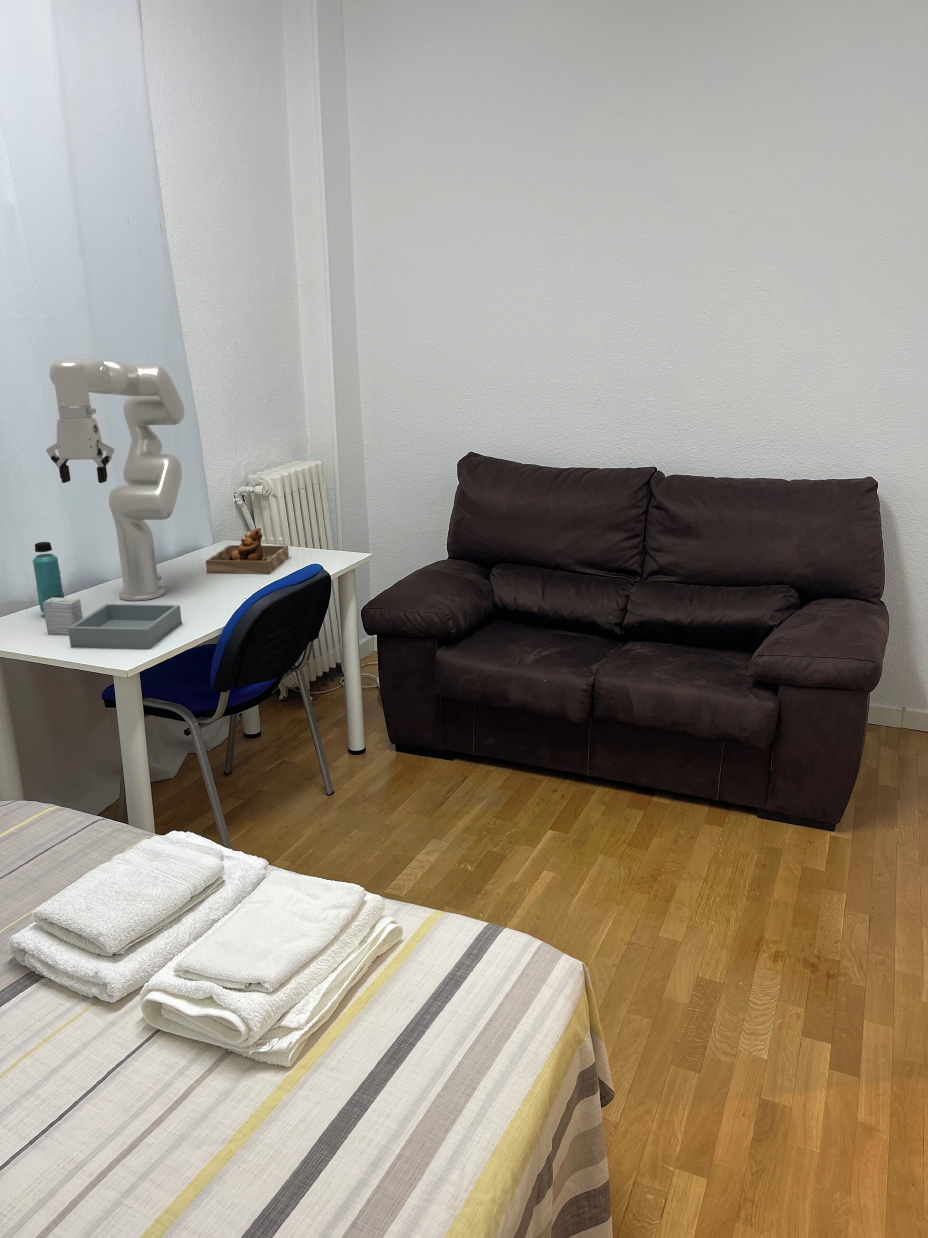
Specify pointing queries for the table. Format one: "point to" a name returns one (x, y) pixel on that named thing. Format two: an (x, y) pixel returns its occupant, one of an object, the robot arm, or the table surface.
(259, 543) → the bear figurine
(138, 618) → the bin
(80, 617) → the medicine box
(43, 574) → the beverage bottle
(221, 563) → the wooden tray
